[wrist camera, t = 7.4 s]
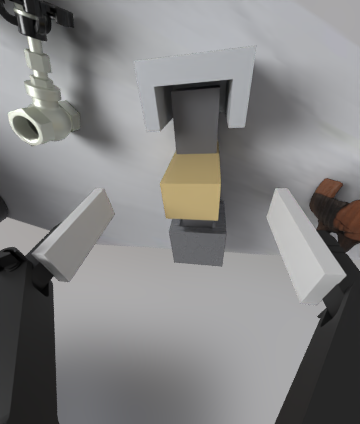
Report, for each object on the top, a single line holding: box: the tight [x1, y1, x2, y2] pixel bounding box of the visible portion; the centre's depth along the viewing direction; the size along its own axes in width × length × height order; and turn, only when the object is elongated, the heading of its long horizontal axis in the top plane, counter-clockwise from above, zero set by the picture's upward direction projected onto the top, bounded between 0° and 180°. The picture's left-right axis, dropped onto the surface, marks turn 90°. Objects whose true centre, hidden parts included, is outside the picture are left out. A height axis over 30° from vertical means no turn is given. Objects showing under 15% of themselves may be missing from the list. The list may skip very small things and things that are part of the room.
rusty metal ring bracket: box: [309, 178, 360, 253], centre depth 22 cm, size 12×10×8 cm
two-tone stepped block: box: [160, 85, 221, 228], centre depth 18 cm, size 4×17×10 cm, turn 5°
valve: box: [0, 0, 80, 146], centre depth 18 cm, size 7×7×12 cm
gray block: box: [169, 201, 226, 266], centre depth 27 cm, size 7×7×7 cm
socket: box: [133, 45, 257, 132], centre depth 15 cm, size 8×4×8 cm, turn 95°
